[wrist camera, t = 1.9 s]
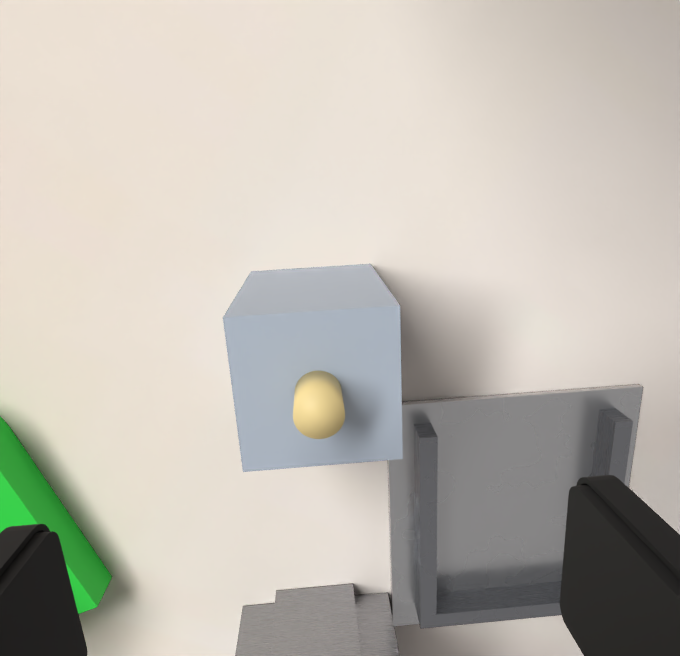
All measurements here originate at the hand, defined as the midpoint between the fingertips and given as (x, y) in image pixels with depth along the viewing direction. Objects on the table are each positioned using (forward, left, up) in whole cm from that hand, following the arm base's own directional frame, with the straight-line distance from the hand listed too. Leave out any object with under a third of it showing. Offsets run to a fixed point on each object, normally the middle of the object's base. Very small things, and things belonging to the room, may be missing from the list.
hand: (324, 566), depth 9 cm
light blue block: (-1, 0, -13) cm, 13 cm away
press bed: (+9, +9, -13) cm, 18 cm away
